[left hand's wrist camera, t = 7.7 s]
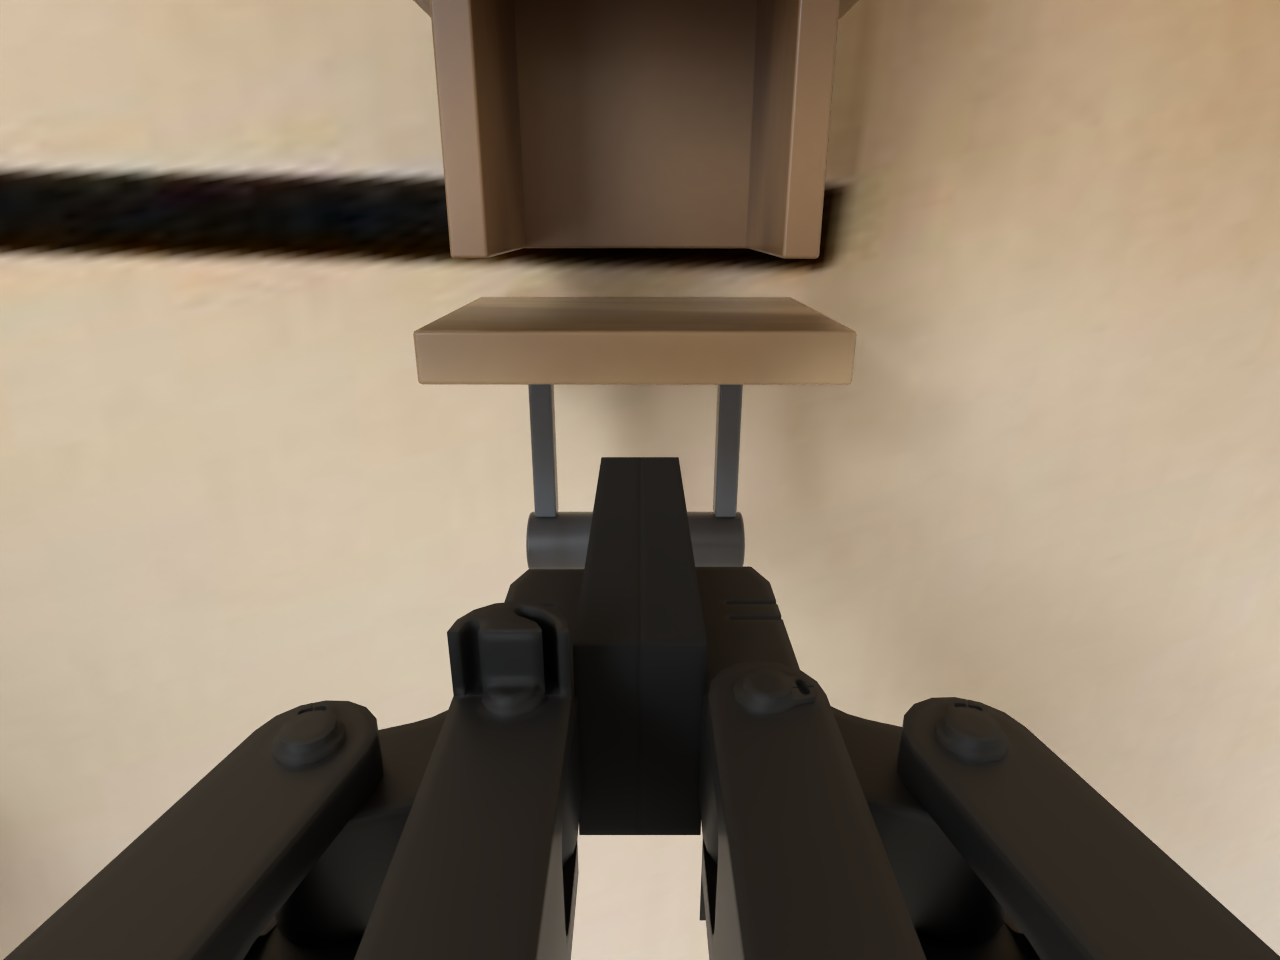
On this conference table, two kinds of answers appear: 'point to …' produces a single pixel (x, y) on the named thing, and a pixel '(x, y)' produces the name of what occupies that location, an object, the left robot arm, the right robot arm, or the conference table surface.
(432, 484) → the conference table surface
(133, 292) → the conference table surface
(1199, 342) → the conference table surface
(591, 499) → the conference table surface
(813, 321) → the drawer
